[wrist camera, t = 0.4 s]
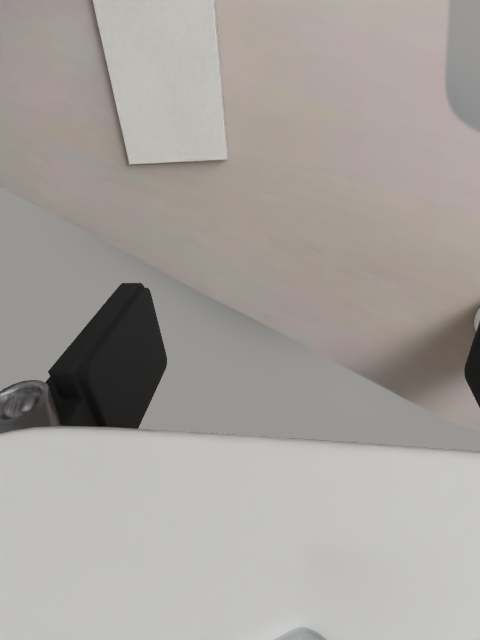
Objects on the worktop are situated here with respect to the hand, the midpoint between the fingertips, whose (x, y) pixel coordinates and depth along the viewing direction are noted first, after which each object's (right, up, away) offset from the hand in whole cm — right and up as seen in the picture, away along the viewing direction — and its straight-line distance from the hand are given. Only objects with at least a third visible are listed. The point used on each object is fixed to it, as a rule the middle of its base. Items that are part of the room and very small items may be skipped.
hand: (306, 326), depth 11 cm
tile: (-8, +22, +23) cm, 33 cm away
